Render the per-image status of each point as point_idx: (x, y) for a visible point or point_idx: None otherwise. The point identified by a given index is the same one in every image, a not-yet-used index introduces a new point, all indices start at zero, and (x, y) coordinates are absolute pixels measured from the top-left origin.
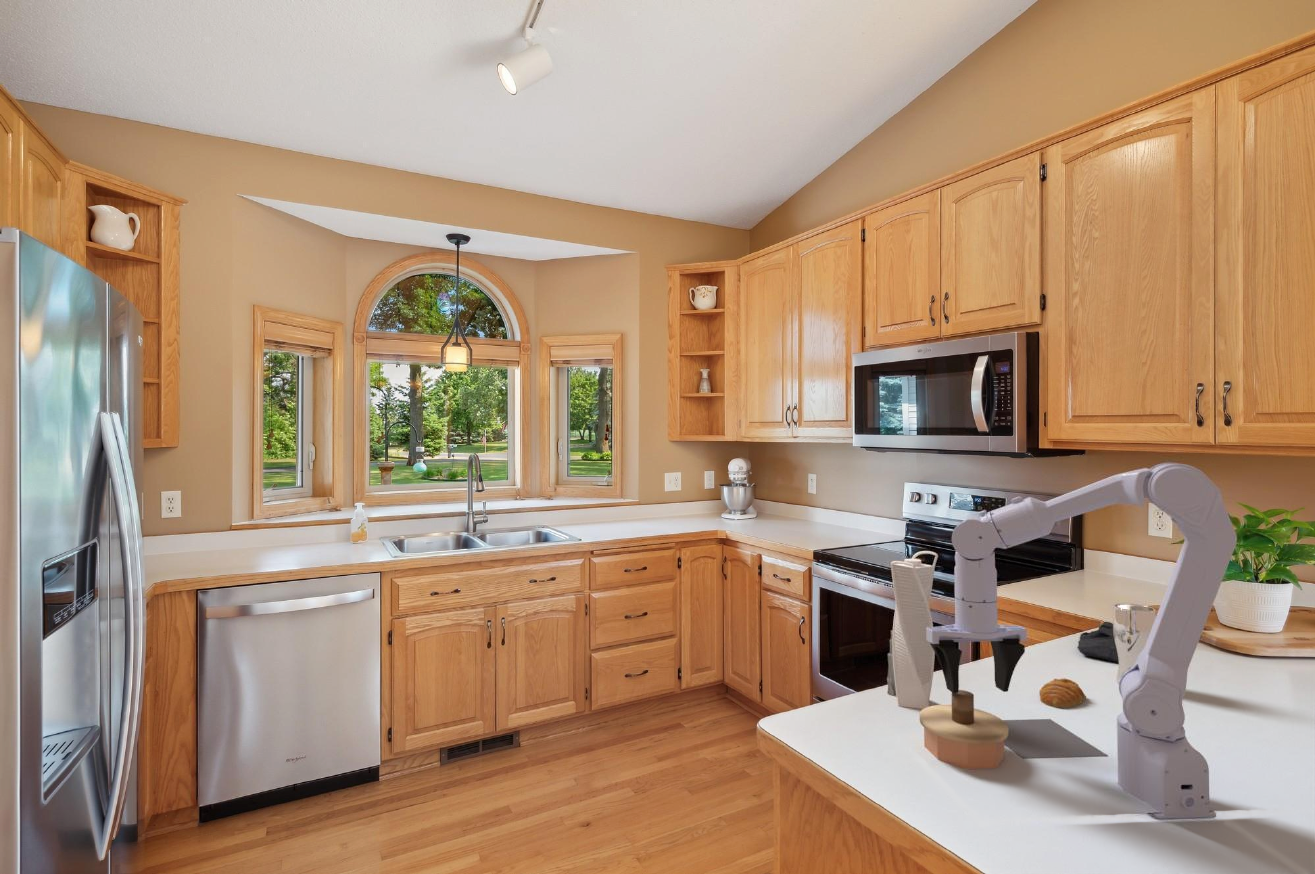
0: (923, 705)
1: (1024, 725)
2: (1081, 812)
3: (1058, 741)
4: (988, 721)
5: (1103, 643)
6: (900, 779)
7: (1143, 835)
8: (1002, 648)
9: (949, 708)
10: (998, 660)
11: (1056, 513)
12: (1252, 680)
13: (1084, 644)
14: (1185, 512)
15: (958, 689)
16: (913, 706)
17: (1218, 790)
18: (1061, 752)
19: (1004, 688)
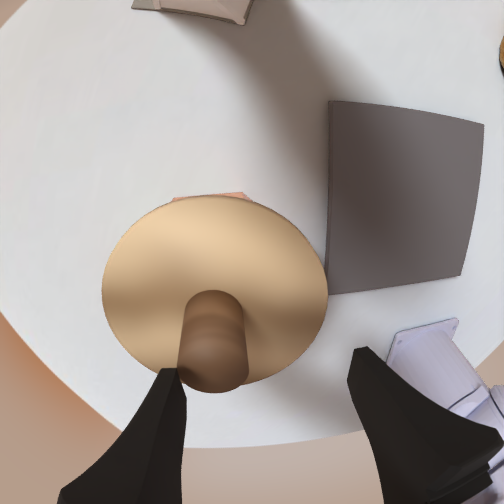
0: (221, 11)
1: (429, 144)
2: (305, 396)
3: (437, 225)
4: (284, 315)
5: None
6: (82, 338)
7: (335, 416)
8: (404, 494)
9: (209, 232)
10: (394, 434)
11: None
12: None
13: None
14: None
15: (186, 409)
16: (194, 6)
17: (483, 327)
18: (409, 269)
19: (350, 390)
